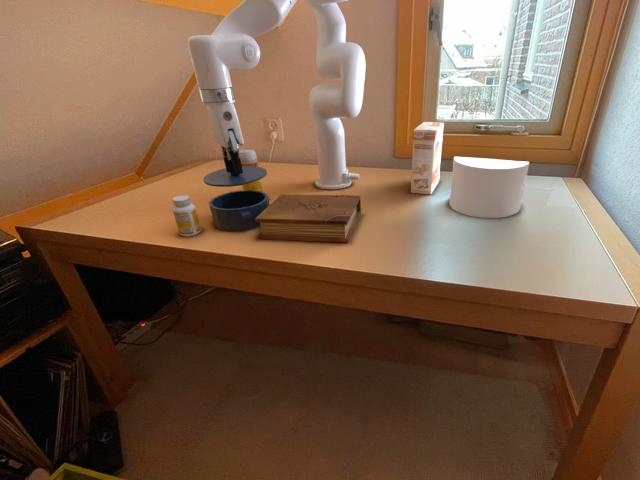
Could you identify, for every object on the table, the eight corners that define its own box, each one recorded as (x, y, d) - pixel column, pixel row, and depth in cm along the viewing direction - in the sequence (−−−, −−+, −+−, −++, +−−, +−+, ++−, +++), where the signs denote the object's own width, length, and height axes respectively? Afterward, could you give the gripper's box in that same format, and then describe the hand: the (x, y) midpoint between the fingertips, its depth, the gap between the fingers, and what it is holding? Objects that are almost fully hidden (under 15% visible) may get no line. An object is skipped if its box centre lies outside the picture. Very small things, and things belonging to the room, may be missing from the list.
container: (522, 197, 112) (531, 153, 106) (516, 222, 97) (526, 172, 90) (457, 190, 120) (461, 148, 113) (441, 212, 105) (445, 165, 98)
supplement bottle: (186, 238, 94) (175, 203, 89) (176, 233, 97) (165, 198, 92) (205, 231, 98) (196, 197, 93) (195, 226, 101) (185, 193, 96)
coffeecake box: (431, 194, 117) (436, 130, 107) (409, 192, 120) (412, 129, 109) (440, 181, 129) (444, 121, 119) (420, 179, 131) (423, 121, 121)
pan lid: (260, 166, 108) (256, 145, 105) (273, 181, 95) (269, 157, 92) (201, 176, 102) (195, 153, 99) (207, 193, 89) (200, 168, 86)
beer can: (258, 201, 117) (249, 153, 109) (241, 200, 118) (231, 152, 110) (266, 195, 122) (258, 148, 114) (249, 194, 123) (240, 148, 115)
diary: (361, 214, 105) (360, 194, 102) (348, 243, 89) (347, 221, 86) (284, 211, 109) (281, 192, 106) (259, 238, 93) (255, 217, 90)
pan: (262, 203, 115) (259, 184, 112) (279, 227, 99) (276, 206, 96) (210, 212, 110) (205, 193, 107) (219, 239, 93) (213, 217, 90)
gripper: (244, 97, 84) (259, 176, 94) (223, 92, 95) (239, 163, 105) (210, 101, 80) (230, 183, 90) (193, 95, 92) (212, 169, 102)
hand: (234, 172), depth 98 cm, fingers closed on pan lid, 2 cm apart
